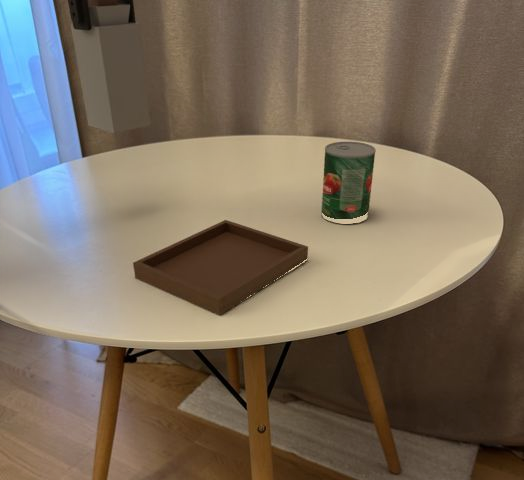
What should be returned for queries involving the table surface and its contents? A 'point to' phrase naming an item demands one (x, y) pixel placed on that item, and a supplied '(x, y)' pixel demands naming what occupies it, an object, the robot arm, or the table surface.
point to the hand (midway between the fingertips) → (105, 26)
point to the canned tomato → (347, 179)
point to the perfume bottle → (112, 68)
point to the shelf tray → (220, 265)
